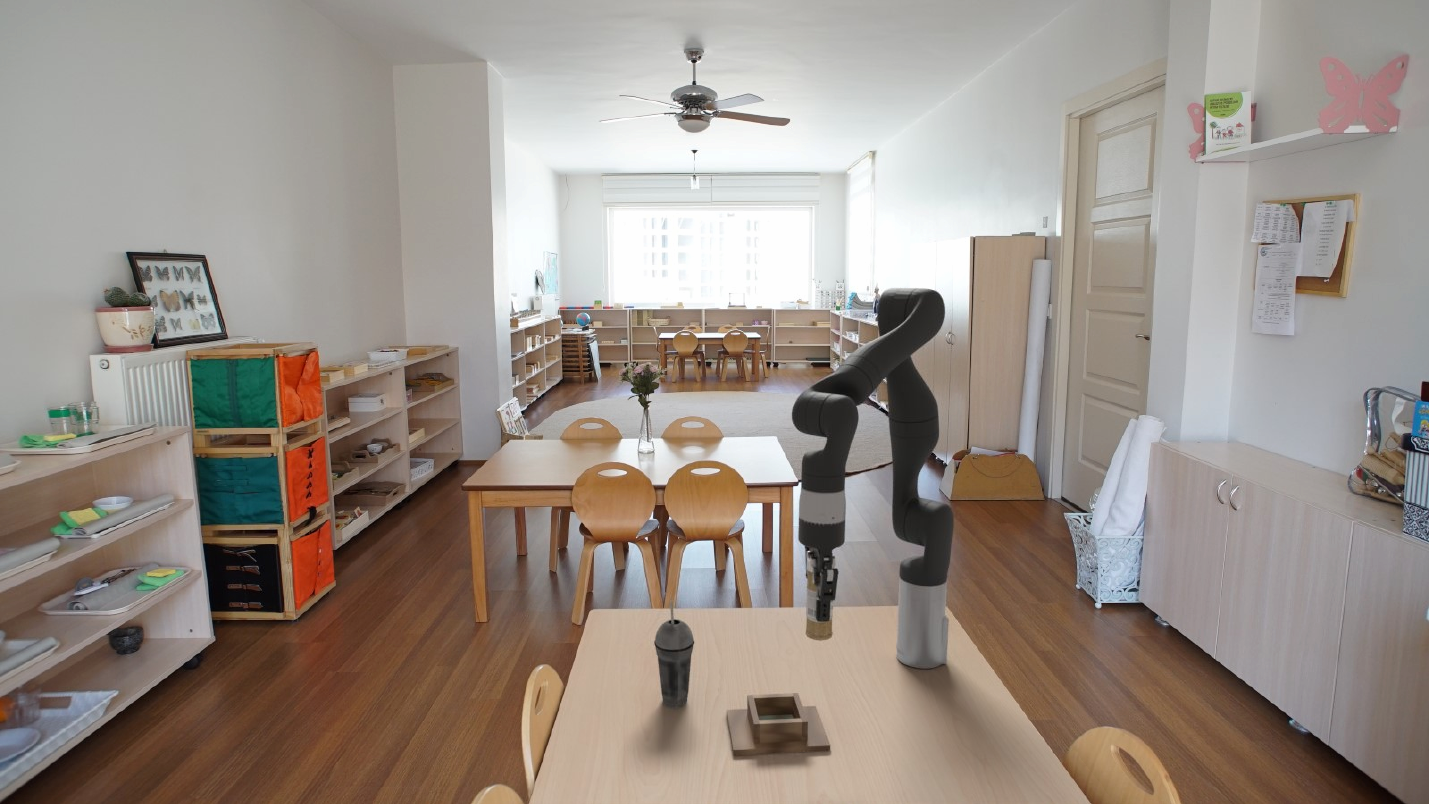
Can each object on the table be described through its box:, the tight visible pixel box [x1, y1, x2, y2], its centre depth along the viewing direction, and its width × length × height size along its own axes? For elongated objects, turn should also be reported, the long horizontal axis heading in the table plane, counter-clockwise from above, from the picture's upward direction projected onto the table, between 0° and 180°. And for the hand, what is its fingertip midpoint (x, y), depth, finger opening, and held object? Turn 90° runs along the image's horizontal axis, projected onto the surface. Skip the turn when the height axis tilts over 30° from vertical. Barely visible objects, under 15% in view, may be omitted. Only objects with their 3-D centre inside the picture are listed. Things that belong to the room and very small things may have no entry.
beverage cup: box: [653, 599, 695, 708], centre depth 146 cm, size 7×7×20 cm
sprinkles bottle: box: [805, 558, 836, 642], centre depth 133 cm, size 5×5×14 cm
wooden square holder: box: [726, 692, 831, 757], centre depth 137 cm, size 16×12×4 cm
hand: (819, 613), depth 133 cm, fingers closed on sprinkles bottle, 4 cm apart
